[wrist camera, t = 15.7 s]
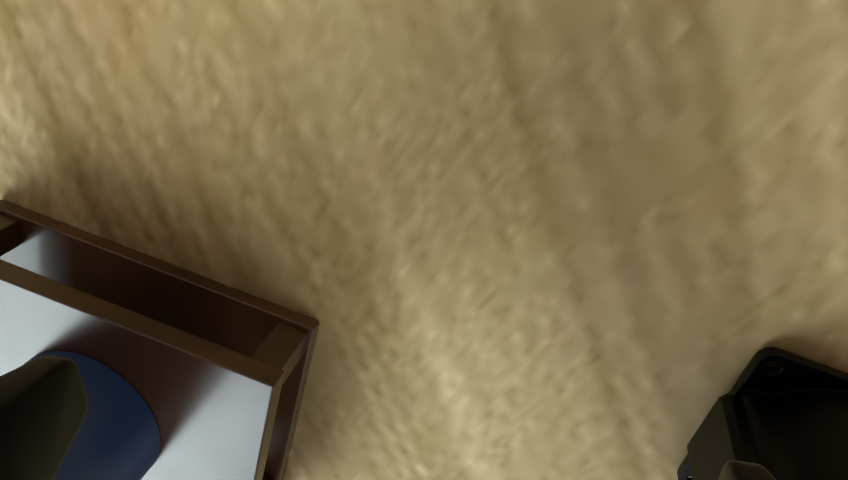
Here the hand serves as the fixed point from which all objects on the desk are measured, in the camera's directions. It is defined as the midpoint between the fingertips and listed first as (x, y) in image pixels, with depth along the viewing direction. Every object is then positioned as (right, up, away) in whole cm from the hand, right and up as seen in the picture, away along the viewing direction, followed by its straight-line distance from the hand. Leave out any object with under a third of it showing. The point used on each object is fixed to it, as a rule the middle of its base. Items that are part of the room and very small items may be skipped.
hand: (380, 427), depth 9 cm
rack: (-11, -2, +19) cm, 22 cm away
